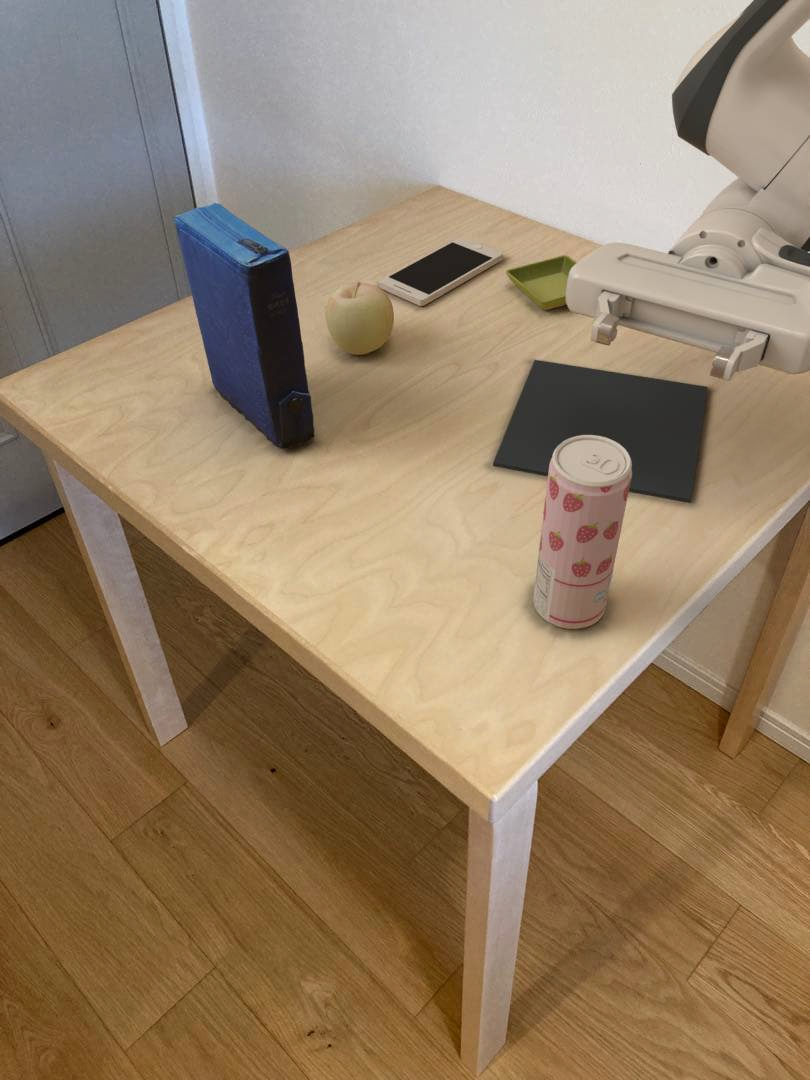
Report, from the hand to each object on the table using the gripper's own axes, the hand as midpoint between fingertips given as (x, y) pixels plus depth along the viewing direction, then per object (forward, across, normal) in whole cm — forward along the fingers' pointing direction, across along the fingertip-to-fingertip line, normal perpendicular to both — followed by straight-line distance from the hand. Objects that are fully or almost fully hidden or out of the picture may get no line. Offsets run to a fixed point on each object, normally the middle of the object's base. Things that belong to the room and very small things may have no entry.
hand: (659, 352), depth 67 cm
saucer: (-32, -22, +17) cm, 42 cm away
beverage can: (+12, 0, +17) cm, 21 cm away
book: (+5, -37, +17) cm, 41 cm away
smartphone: (-30, -36, +17) cm, 49 cm away
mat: (-11, -6, +17) cm, 21 cm away
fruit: (-11, -35, +17) cm, 41 cm away
